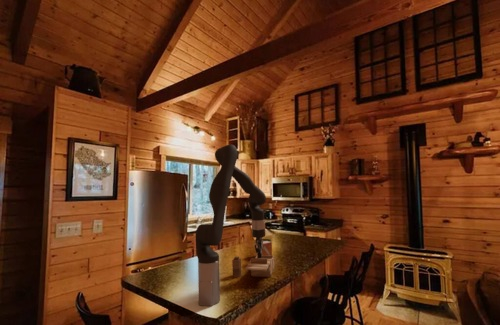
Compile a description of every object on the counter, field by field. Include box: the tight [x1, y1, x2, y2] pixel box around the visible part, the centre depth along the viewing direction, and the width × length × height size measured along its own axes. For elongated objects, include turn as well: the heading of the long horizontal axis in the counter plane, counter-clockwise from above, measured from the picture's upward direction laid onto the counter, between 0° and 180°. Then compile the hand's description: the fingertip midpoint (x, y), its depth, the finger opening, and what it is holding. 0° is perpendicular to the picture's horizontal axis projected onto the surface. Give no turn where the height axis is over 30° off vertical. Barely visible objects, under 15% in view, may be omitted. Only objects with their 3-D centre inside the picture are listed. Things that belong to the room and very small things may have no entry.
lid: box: [245, 257, 272, 271], centre depth 141 cm, size 18×11×4 cm, turn 167°
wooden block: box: [231, 256, 242, 278], centre depth 147 cm, size 4×4×10 cm
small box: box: [262, 241, 273, 256], centre depth 172 cm, size 8×6×13 cm
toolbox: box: [250, 255, 276, 278], centre depth 152 cm, size 18×11×7 cm, turn 167°
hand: (259, 259), depth 144 cm, fingers closed
